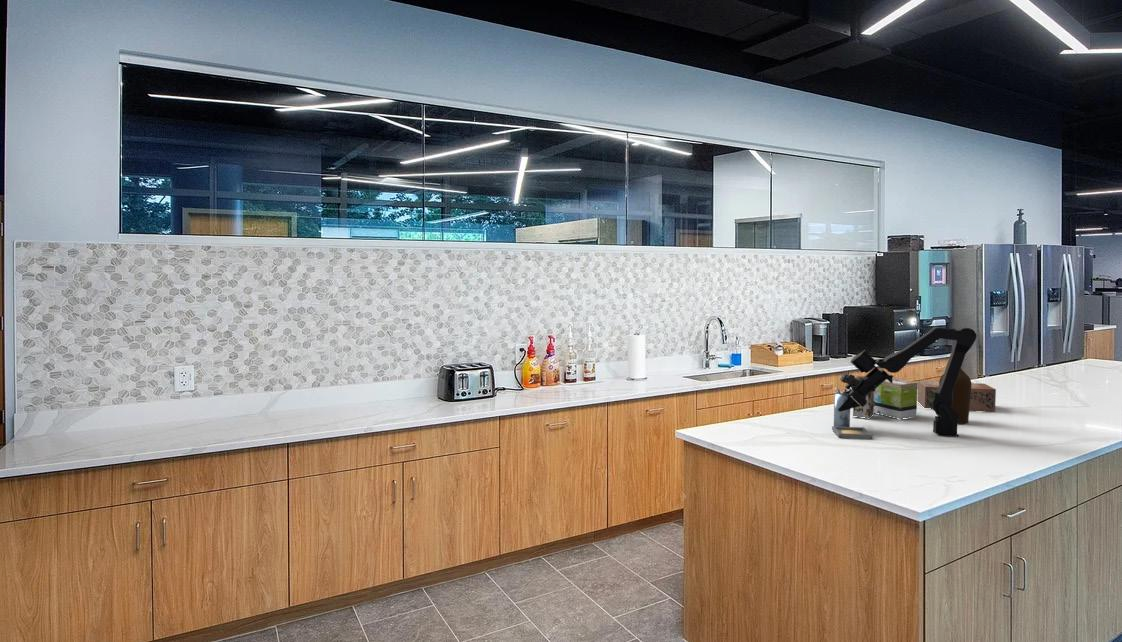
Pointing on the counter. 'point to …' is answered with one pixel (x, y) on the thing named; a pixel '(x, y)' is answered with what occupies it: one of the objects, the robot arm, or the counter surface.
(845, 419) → the spout can
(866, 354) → the robot arm
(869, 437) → the tray
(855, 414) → the coffee box
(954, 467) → the counter surface
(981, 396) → the tissue box cover
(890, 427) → the counter surface
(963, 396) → the olive oil
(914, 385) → the tea box
